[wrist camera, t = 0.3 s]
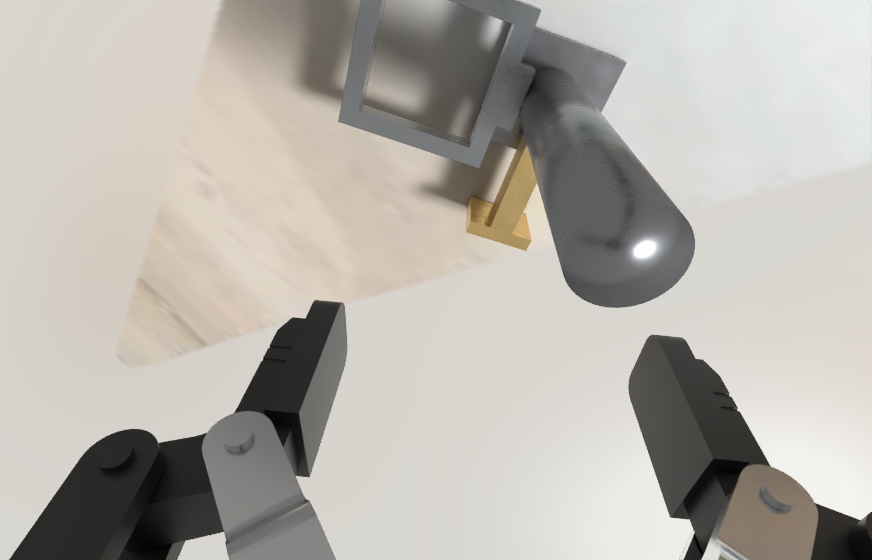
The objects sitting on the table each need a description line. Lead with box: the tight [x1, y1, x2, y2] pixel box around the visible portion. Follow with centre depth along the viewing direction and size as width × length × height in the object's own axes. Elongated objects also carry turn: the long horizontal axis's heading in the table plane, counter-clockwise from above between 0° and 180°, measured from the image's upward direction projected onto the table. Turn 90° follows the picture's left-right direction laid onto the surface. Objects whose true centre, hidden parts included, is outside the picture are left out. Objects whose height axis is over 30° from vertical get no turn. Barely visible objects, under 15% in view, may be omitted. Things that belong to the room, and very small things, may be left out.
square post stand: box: [338, 0, 695, 308], centre depth 26 cm, size 15×18×22 cm
